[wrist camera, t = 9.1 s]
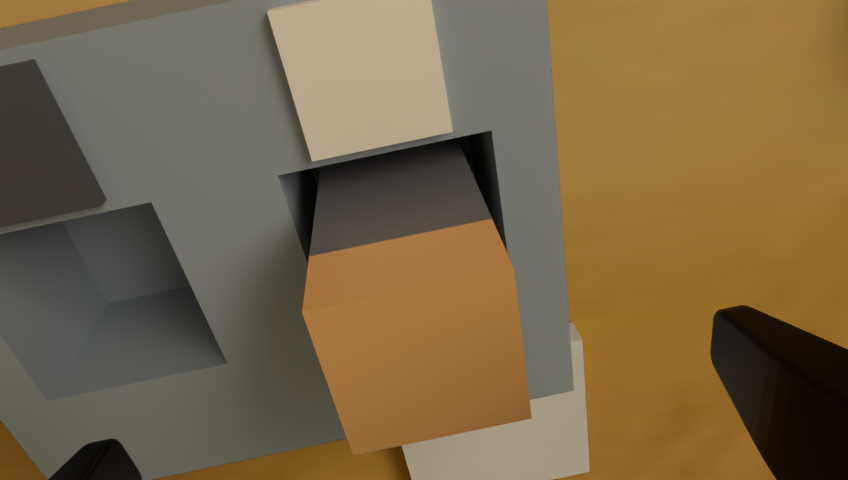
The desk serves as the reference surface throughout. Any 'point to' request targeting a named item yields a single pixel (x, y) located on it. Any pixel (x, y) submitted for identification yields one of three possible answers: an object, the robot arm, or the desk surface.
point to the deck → (515, 441)
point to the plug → (413, 300)
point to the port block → (239, 206)
